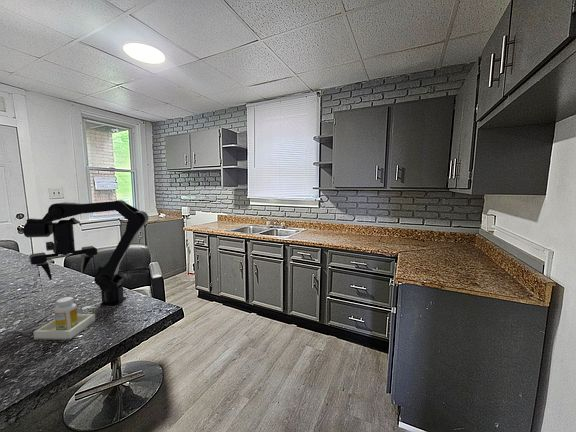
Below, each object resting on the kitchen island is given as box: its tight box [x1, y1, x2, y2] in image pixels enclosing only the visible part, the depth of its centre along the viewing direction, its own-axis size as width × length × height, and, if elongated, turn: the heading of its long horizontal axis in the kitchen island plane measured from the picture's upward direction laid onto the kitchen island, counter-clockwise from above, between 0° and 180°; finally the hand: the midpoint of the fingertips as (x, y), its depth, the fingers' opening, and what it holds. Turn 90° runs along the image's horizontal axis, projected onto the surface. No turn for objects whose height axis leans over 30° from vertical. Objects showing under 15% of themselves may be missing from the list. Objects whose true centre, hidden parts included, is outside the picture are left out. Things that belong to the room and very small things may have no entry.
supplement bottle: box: [53, 296, 78, 330], centre depth 81 cm, size 5×5×10 cm
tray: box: [33, 313, 96, 340], centre depth 82 cm, size 11×11×2 cm
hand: (67, 276), depth 96 cm, fingers open, 9 cm apart
